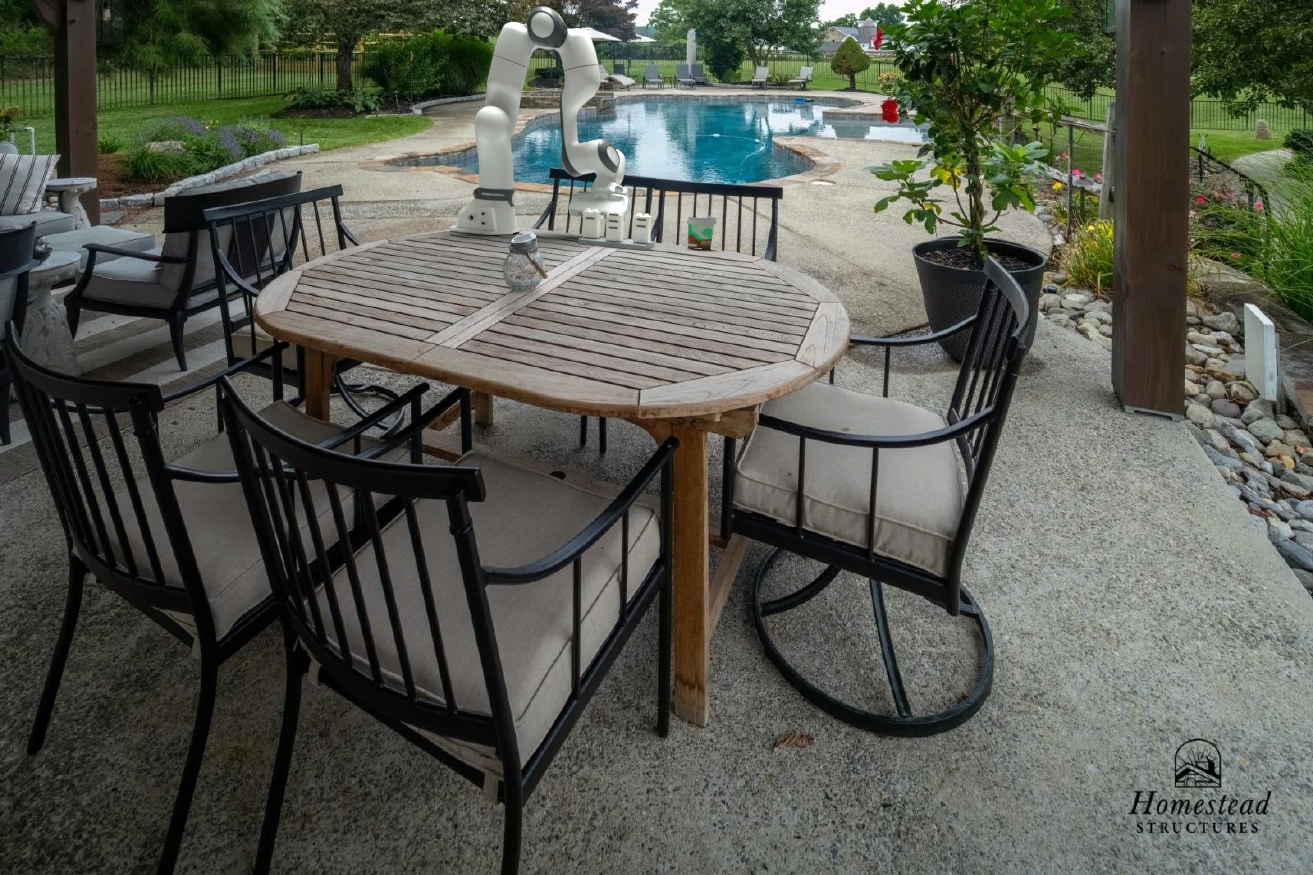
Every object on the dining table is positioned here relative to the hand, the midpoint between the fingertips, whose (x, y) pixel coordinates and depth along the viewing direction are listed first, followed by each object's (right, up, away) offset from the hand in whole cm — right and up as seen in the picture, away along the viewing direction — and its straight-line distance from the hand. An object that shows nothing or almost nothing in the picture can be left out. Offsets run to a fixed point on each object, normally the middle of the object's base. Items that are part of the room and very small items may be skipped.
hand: (593, 226), depth 244 cm
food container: (+36, -6, +3) cm, 37 cm away
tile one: (-1, -4, -1) cm, 4 cm away
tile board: (+7, -6, -2) cm, 10 cm away
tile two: (+16, -6, -4) cm, 17 cm away
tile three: (+7, -6, -4) cm, 10 cm away
